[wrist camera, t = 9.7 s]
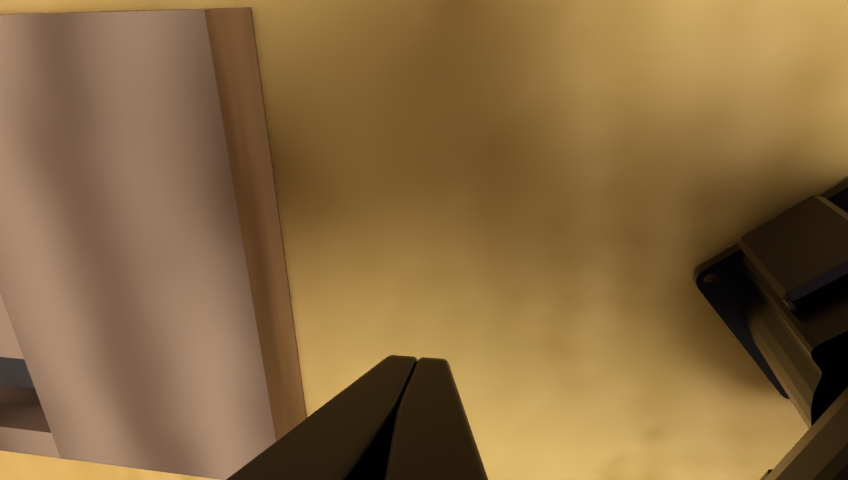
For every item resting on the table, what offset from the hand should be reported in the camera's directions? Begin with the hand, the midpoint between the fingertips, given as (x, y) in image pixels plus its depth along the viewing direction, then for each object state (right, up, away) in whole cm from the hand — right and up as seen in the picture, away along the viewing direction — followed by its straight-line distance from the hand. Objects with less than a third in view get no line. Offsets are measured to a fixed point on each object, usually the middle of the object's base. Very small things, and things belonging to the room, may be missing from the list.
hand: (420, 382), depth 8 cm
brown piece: (-17, +2, +17) cm, 24 cm away
